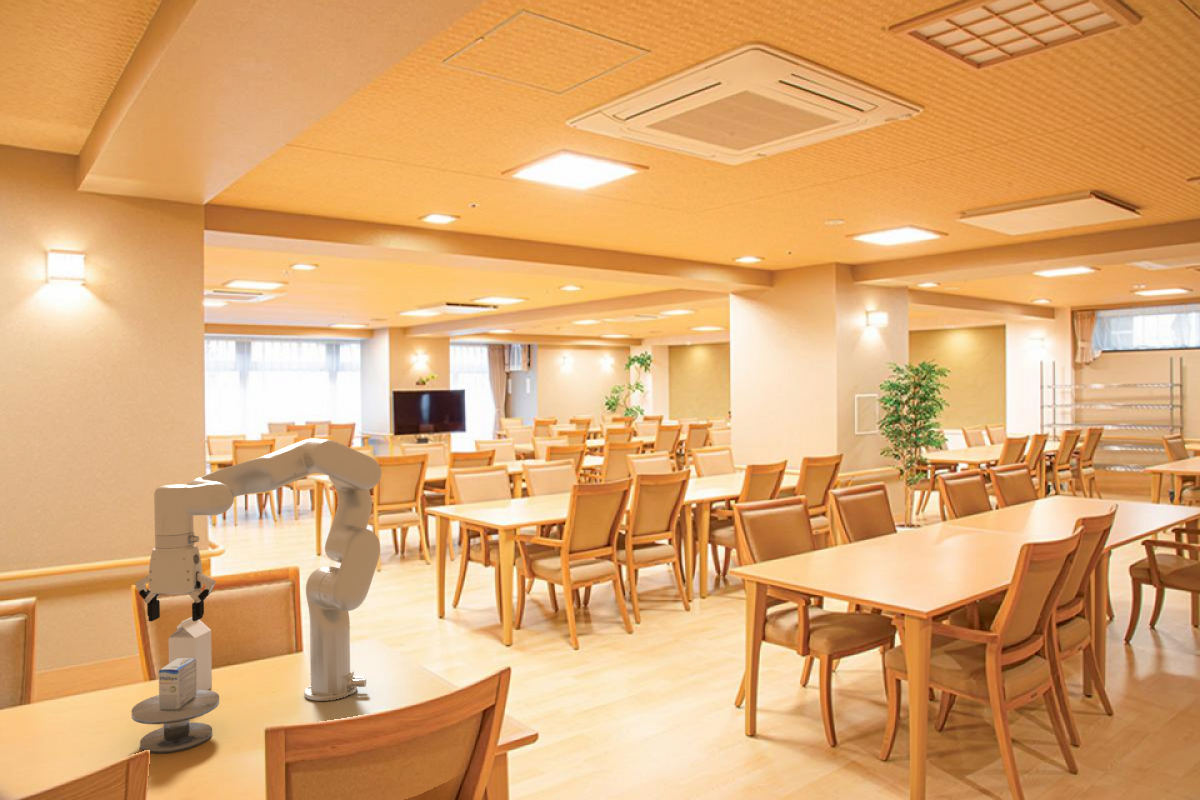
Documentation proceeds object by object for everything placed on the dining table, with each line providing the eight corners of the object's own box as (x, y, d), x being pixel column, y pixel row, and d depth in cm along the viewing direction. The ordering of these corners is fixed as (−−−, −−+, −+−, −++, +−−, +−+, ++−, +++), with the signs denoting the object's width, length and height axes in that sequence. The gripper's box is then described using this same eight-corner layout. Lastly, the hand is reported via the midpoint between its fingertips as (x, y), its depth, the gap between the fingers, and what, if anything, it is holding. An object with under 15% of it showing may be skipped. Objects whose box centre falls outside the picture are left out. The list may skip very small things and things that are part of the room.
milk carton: (212, 688, 210) (211, 614, 210) (195, 698, 203) (194, 622, 203) (186, 687, 211) (185, 614, 211) (169, 697, 204) (167, 621, 204)
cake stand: (234, 724, 186) (233, 689, 186) (194, 757, 169) (193, 718, 169) (161, 724, 187) (160, 689, 187) (114, 756, 170) (113, 718, 170)
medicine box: (177, 696, 182) (176, 657, 182) (197, 696, 182) (196, 657, 182) (158, 710, 174) (158, 669, 174) (179, 709, 174) (179, 669, 174)
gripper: (222, 538, 181) (223, 614, 182) (145, 538, 182) (147, 615, 182) (204, 544, 174) (205, 624, 174) (125, 545, 175) (126, 624, 175)
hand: (175, 619), depth 178 cm, fingers open, 9 cm apart
